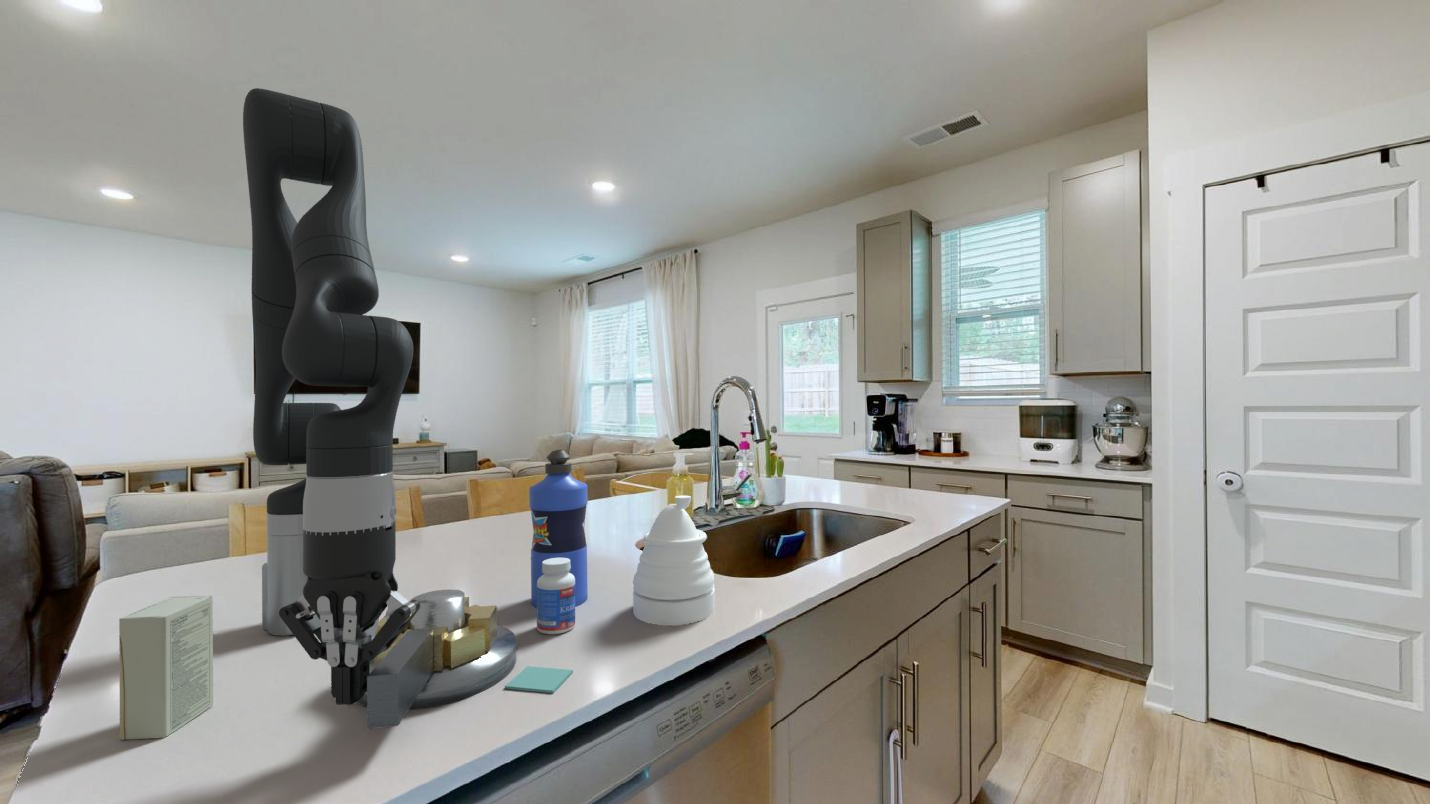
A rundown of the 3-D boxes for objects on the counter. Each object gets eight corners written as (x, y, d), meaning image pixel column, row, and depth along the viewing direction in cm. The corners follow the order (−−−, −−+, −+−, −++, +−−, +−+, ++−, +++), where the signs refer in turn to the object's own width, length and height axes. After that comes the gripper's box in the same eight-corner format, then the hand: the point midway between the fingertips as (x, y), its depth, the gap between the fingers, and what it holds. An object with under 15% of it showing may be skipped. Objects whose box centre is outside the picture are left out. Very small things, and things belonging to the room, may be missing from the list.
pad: (504, 688, 65) (504, 686, 65) (527, 668, 70) (527, 666, 70) (553, 693, 63) (553, 690, 63) (572, 672, 68) (572, 670, 68)
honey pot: (730, 604, 91) (728, 493, 91) (683, 632, 80) (682, 505, 80) (666, 591, 98) (665, 487, 98) (615, 615, 87) (614, 498, 87)
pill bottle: (565, 637, 79) (564, 567, 79) (529, 634, 80) (529, 565, 80) (581, 622, 84) (581, 556, 85) (548, 619, 86) (548, 555, 86)
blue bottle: (546, 615, 87) (544, 453, 88) (520, 600, 94) (519, 450, 95) (599, 600, 94) (597, 449, 94) (571, 587, 101) (570, 447, 101)
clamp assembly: (400, 632, 74) (399, 595, 74) (502, 624, 77) (502, 588, 77) (305, 736, 51) (304, 682, 51) (457, 719, 53) (456, 668, 53)
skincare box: (172, 708, 61) (171, 596, 61) (216, 706, 62) (215, 594, 62) (116, 742, 55) (115, 617, 55) (165, 739, 55) (164, 615, 56)
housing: (310, 702, 62) (310, 620, 62) (425, 636, 80) (424, 572, 80) (456, 718, 59) (455, 631, 59) (542, 645, 76) (541, 578, 76)
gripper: (251, 528, 51) (250, 721, 51) (394, 529, 51) (394, 724, 50) (313, 512, 59) (313, 680, 58) (438, 513, 58) (438, 682, 58)
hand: (350, 700), depth 54 cm, fingers closed
